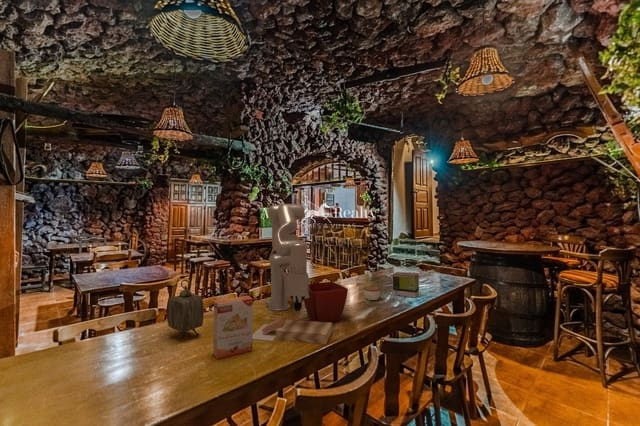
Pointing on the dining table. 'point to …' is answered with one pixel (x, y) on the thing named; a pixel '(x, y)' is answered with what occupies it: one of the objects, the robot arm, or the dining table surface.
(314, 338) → the board
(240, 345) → the cracker box
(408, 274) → the tea box
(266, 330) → the block
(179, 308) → the tabletop clock
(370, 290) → the lidded jar
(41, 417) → the dining table surface
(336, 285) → the plant pot
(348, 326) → the dining table surface
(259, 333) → the mat
